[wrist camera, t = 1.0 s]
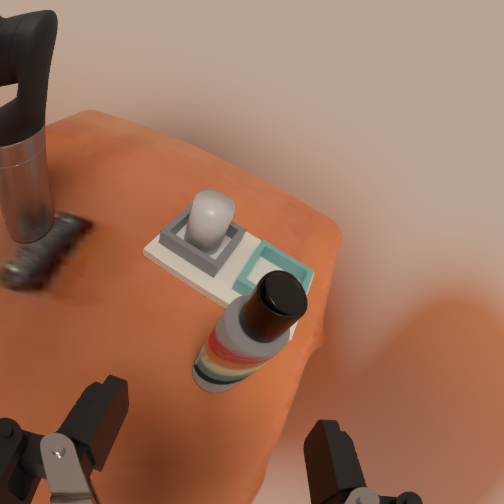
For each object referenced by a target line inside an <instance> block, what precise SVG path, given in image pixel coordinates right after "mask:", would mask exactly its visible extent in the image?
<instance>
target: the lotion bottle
mask: <svg viewBox="0 0 504 504" xmlns="http://www.w3.org/2000/svg"><path fill="white" fill-rule="evenodd" d="M306 310H307V296H306V293H305V290H304V288H303V286H302V285H301V283H300V282H299V280H298V279H297V278H296V277H295V276H293V275H292V274H290V273H289V272H286V271H282V270H274V271H271V272H269V273H267V274H265V275H264V276H263V277H262V278H261V279H260V280H259V282H258V283H257V285H256V286H255V288H254V289H253V291H252V292H251V294H246V295H242V296H239V297H237V298H236V299H234V300H233V301H232V302H231V303H230V304H229V305H228V307H227V308H226V310H225V311H224V313H223V315H222V316H221V318H220V320H219V321H218V323H217V325H216V326H215V328H214V330H213V331H212V333H211V335H210V336H209V338H208V339H207V341H206V343H205V344H204V346H203V348H202V349H201V351H200V353H199V354H198V356H197V358H196V360H195V362H194V364H193V370H192V371H193V377H194V380H195V381H196V383H197V384H198V385H199V386H200V387H201V388H202V389H203V390H205V391H207V392H210V393H222V392H225V391H227V390H229V389H230V388H232V387H233V386H235V385H236V384H238V383H239V382H241V381H242V380H243V379H245V378H246V377H248V376H249V375H250V374H252V373H253V372H255V371H256V370H257V369H259V368H260V367H261V366H263V365H264V364H265V363H267V362H268V361H269V360H271V359H272V358H273V357H274V356H276V355H277V354H278V353H279V352H280V351H282V350H283V348H284V347H285V346H286V344H287V342H288V340H289V337H290V327H291V326H292V325H294V324H295V323H296V322H297V321H298V320H299V319H300V318H301V317H302V316H303V315H304V314H305V312H306Z"/></svg>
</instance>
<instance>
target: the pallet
mask: <svg viewBox="0 0 504 504" xmlns="http://www.w3.org/2000/svg"><path fill="white" fill-rule="evenodd" d="M235 211H236V206H235V204H234V202H233V201H232V199H231V198H229V197H228V196H227V195H225V194H223V193H221V192H218V191H214V190H204V191H201V192H199V193H198V194H197V195H196V196H195V199H194V202H193V203H192V204H191V205H190V206H189V207H188V208H186V209H185V210H184V211H183V212H182V213H181V214H179V215H178V216H177V217H176V218H175V219H174V220H173V221H172V222H170V223H169V224H168V225H167V226H166V227H165V228H164V229H163V230H161V231H160V234H159V235H158V236H157V237H156V238H155V239H153V240H152V241H151V242H150V243H149V244H148V245H147V246H146V247H145V248H144V249H143V256H145V257H146V258H148V259H149V260H150V261H152V262H153V263H155V264H156V265H158V266H159V267H161V268H162V269H164V270H165V271H167V272H168V273H170V274H171V275H173V276H174V277H176V278H177V279H179V280H180V281H182V282H183V283H185V284H186V285H188V286H190V287H191V288H193V289H194V290H196V291H197V292H199V293H201V294H202V295H204V296H205V297H207V298H209V299H210V300H212V301H213V302H215V303H217V304H218V305H220V306H221V307H223V308H225V309H226V308H227V307H228V305H229V304H230V303H231V302H232V301H233V300H234V299H236V298H237V297H239V296H242V295H246V294H251V292H252V291H253V289H254V288H255V286H256V285H257V283H258V282H259V280H260V279H261V278H262V277H263V276H264V275H265V274H267V273H269V272H271V271H274V270H282V271H286V272H289V273H290V274H292V275H293V276H295V277H296V278H297V279H298V280H299V282H300V283H301V285H302V286H303V288H304V290H305V293H306V296H307V294H308V291H309V288H310V285H311V282H312V279H313V276H314V271H313V270H312V269H310V268H309V267H307V266H305V265H304V264H302V263H300V262H299V261H297V260H295V259H294V258H292V257H291V256H289V255H287V254H286V253H284V252H282V251H281V250H279V249H277V248H276V247H274V246H272V245H271V244H269V243H267V242H266V241H264V240H262V241H261V240H259V239H258V238H256V237H254V236H253V235H251V234H249V233H248V232H246V229H244V228H242V227H241V226H239V225H237V224H236V223H234V222H232V221H231V220H232V218H233V215H234V213H235ZM297 322H298V321H297ZM297 322H296V323H295V324H294V325H292V326H291V327H290V337H289V340H288V342H289V341H290V340H291V339H292V336H293V333H294V331H295V328H296V325H297ZM288 342H287V343H288Z"/></svg>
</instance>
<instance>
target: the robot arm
mask: <svg viewBox="0 0 504 504" xmlns="http://www.w3.org/2000/svg"><path fill="white" fill-rule="evenodd" d="M57 25H58V21H57V16H56V14H55V12H53V11H52V10H43V11H37V12H31V13H26V14H21V15H17V16H13V17H9V18H3V17H1V16H0V87H1V86H5V85H10V84H16V83H18V91H17V97H16V98H15V99H14V100H12V101H10V102H9V103H7V104H6V105H4V106H2V107H0V206H1V209H2V213H3V216H4V219H5V222H6V225H7V228H8V231H9V234H10V236H11V238H13V239H14V240H15V241H17V242H20V243H29V242H33V241H36V240H38V239H39V238H41V237H43V236H44V235H45V234H46V233H47V232H48V231H49V230H50V228H51V227H52V224H53V222H54V213H53V207H52V201H51V193H50V186H49V177H48V167H47V155H46V137H45V110H46V100H47V89H48V79H49V72H50V65H51V60H52V55H53V50H54V45H55V40H56V35H57ZM128 407H129V399H128V384H127V381H126V380H123V379H120V378H118V377H115V376H113V375H109V376H108V377H107V378H106V380H105V381H104V383H103V384H101V383H98V382H94V383H93V384H91V385H89V386H88V387H86V389H85V390H84V392H83V393H82V395H81V397H80V398H79V399H78V401H77V402H76V405H74V407H73V408H72V410H71V411H70V413H69V414H68V416H67V417H66V419H65V420H64V422H63V424H62V425H61V427H60V428H59V430H58V431H56V432H55V433H50V434H47V435H38V434H35V433H31V432H28V431H25V430H22V429H21V427H20V426H19V424H18V423H17V422H16V421H14V420H12V419H10V418H1V419H0V504H31V502H32V499H33V497H34V494H35V492H36V489H37V487H38V484H39V482H40V480H41V478H44V479H47V480H48V483H49V487H50V490H51V497H50V503H51V504H101V502H100V500H99V498H98V495H97V493H96V490H95V488H94V485H93V483H92V480H91V478H90V475H91V473H92V471H93V469H95V470H98V471H100V472H101V471H102V468H103V466H104V464H105V461H106V459H107V457H108V455H109V452H110V450H111V448H112V445H113V443H114V441H115V439H116V437H117V434H118V432H119V430H120V428H121V426H122V423H123V421H124V419H125V417H126V415H127V412H128ZM304 456H305V463H306V470H307V477H308V483H309V489H310V497H311V504H423V503H422V500H421V498H420V497H419V496H418V495H417V494H416V493H414V492H404V493H402V494H401V495H399V496H398V497H388V496H379V495H378V494H377V493H376V492H375V491H374V490H372V489H370V488H367V486H366V483H365V480H364V477H363V473H362V470H361V467H360V463H359V460H358V459H357V454H356V451H355V447H354V444H353V441H352V439H351V438H350V437H349V435H348V434H347V433H346V432H345V431H340V427H339V424H338V422H337V421H336V420H318V421H317V423H316V424H315V426H314V427H313V429H312V430H311V432H310V433H309V434H308V436H307V437H306V439H305V442H304Z"/></svg>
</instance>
